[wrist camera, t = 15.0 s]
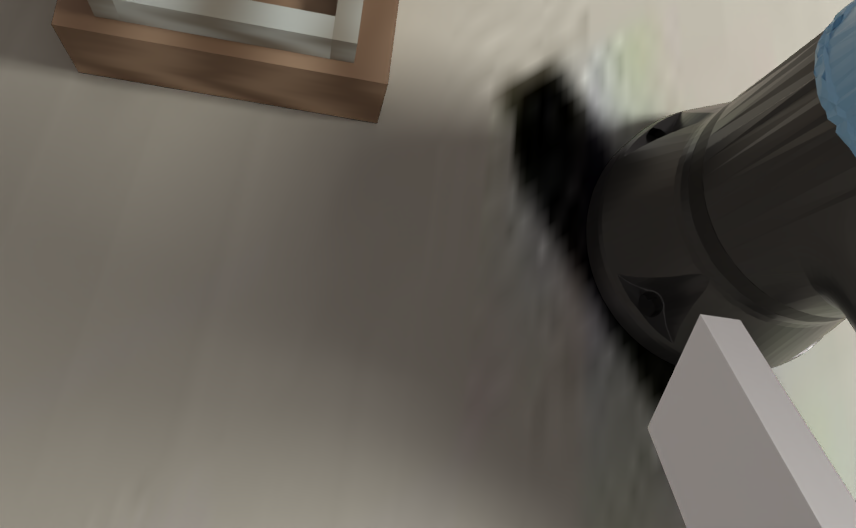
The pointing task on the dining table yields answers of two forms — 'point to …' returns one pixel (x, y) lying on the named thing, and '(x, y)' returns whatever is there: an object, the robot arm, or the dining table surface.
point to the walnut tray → (241, 48)
